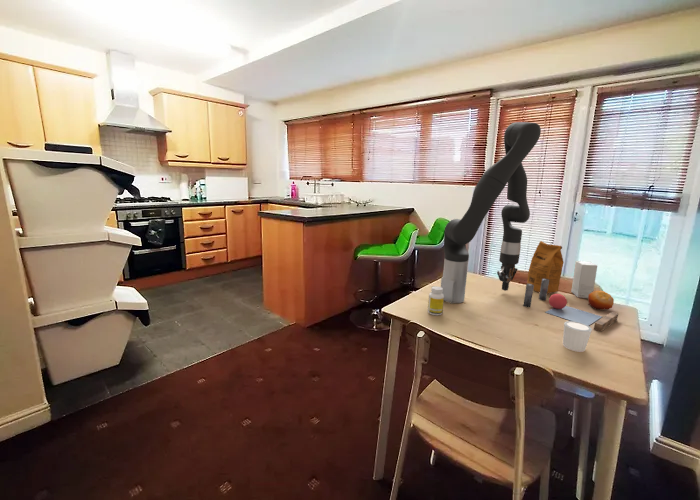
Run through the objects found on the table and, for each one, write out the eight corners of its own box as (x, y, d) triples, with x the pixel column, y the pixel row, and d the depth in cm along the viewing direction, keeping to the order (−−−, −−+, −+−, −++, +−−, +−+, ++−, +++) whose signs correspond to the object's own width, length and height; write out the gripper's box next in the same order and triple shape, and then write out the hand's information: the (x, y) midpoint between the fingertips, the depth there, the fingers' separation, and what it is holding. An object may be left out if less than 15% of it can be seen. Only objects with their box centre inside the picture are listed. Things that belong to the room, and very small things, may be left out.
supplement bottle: (445, 315, 118) (447, 290, 116) (431, 316, 117) (433, 290, 115) (438, 309, 123) (440, 285, 121) (425, 310, 122) (427, 285, 120)
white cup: (555, 341, 100) (558, 320, 99) (575, 341, 101) (579, 320, 99) (571, 353, 94) (575, 331, 92) (593, 352, 94) (598, 330, 93)
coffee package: (539, 284, 154) (546, 240, 149) (561, 293, 143) (570, 245, 138) (522, 286, 152) (528, 240, 147) (543, 295, 140) (551, 246, 135)
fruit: (600, 299, 132) (610, 287, 127) (609, 315, 127) (620, 303, 121) (579, 298, 133) (588, 286, 128) (587, 314, 128) (598, 302, 122)
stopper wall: (600, 331, 107) (602, 324, 107) (593, 329, 109) (594, 322, 108) (616, 320, 117) (618, 314, 116) (609, 318, 118) (611, 312, 118)
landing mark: (587, 326, 111) (587, 326, 111) (544, 312, 122) (545, 311, 122) (602, 317, 119) (602, 316, 119) (561, 304, 130) (561, 304, 130)
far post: (544, 301, 134) (547, 280, 132) (537, 299, 136) (540, 278, 134) (547, 299, 135) (550, 279, 133) (540, 297, 137) (543, 277, 135)
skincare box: (592, 299, 137) (599, 265, 134) (576, 297, 139) (582, 264, 135) (585, 292, 145) (591, 261, 141) (569, 291, 146) (575, 259, 143)
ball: (548, 310, 125) (565, 309, 121) (544, 295, 127) (561, 293, 122) (554, 308, 129) (571, 307, 125) (550, 294, 130) (566, 291, 126)
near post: (528, 307, 126) (532, 286, 124) (521, 305, 128) (525, 284, 126) (531, 306, 128) (535, 285, 126) (525, 304, 130) (528, 283, 128)
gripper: (510, 255, 131) (504, 295, 135) (526, 251, 139) (520, 289, 143) (493, 252, 137) (488, 290, 141) (509, 248, 145) (504, 284, 148)
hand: (504, 289), depth 142 cm, fingers closed
